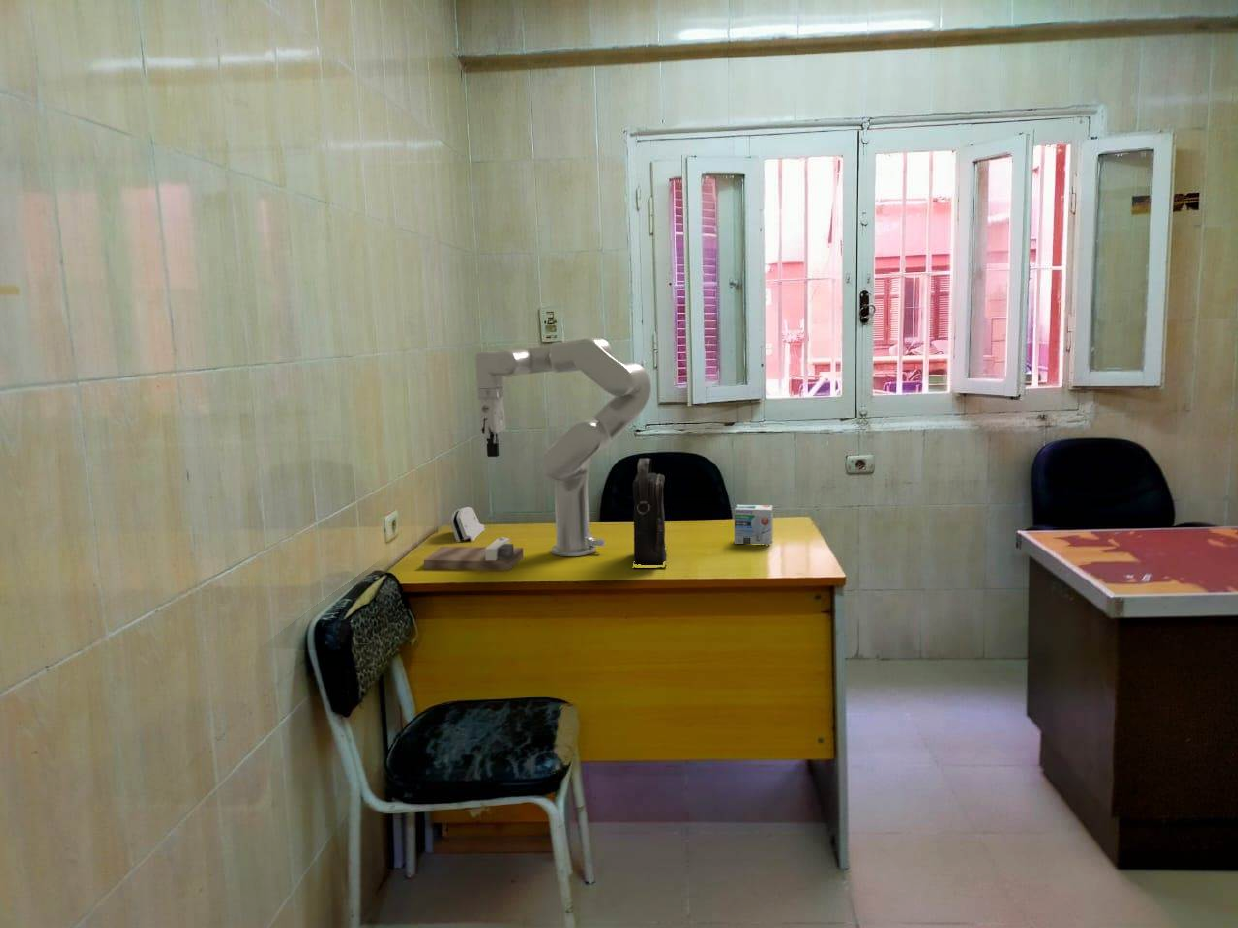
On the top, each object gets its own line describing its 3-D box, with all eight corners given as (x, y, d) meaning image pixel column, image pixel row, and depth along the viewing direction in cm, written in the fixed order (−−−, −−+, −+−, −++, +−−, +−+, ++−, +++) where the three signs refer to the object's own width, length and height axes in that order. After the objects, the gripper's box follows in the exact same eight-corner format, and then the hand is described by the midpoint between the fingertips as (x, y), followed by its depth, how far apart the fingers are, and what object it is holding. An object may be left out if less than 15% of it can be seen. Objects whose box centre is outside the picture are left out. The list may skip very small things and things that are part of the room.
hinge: (472, 542, 267) (460, 512, 265) (458, 547, 267) (446, 517, 266) (485, 529, 283) (474, 501, 282) (472, 534, 284) (460, 506, 282)
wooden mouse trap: (523, 556, 248) (522, 537, 247) (508, 570, 234) (507, 550, 233) (442, 555, 252) (441, 536, 251) (424, 568, 238) (422, 549, 237)
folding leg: (499, 548, 247) (498, 536, 246) (509, 548, 246) (508, 536, 246) (485, 560, 235) (485, 547, 234) (496, 560, 234) (495, 548, 234)
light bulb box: (734, 545, 254) (733, 508, 252) (736, 539, 260) (736, 504, 259) (771, 546, 251) (771, 509, 250) (773, 540, 258) (773, 504, 256)
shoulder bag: (635, 548, 254) (632, 452, 249) (666, 547, 253) (664, 452, 249) (631, 569, 231) (628, 465, 227) (665, 569, 231) (663, 464, 226)
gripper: (494, 395, 245) (497, 460, 248) (510, 391, 260) (513, 452, 263) (469, 396, 246) (472, 460, 249) (485, 392, 261) (489, 452, 264)
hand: (493, 456), depth 256 cm, fingers closed
